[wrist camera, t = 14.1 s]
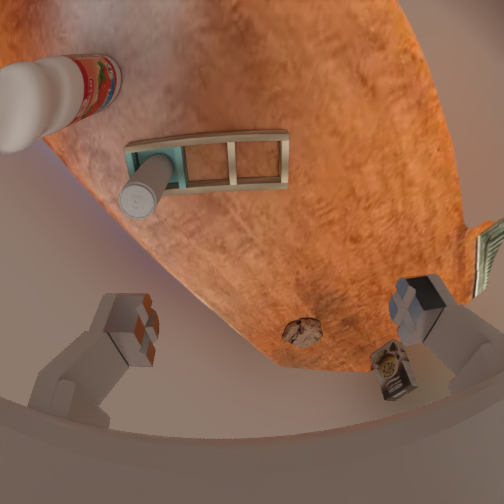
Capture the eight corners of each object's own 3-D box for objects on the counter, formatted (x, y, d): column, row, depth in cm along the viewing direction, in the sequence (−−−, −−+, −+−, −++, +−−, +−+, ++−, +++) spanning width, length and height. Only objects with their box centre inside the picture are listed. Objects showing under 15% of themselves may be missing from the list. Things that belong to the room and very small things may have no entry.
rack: (129, 142, 38) (123, 147, 36) (286, 130, 39) (289, 133, 37) (139, 192, 43) (134, 199, 41) (285, 182, 44) (287, 188, 42)
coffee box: (392, 338, 73) (410, 384, 60) (402, 343, 75) (419, 386, 62) (369, 355, 77) (383, 400, 64) (380, 358, 80) (394, 402, 67)
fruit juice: (92, 43, 28) (-60, 60, 5) (135, 73, 32) (-6, 108, 9) (61, 93, 31) (-80, 161, 9) (100, 123, 36) (-30, 216, 13)
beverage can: (178, 156, 40) (159, 190, 30) (170, 184, 43) (151, 224, 33) (148, 149, 39) (120, 179, 29) (142, 177, 41) (115, 215, 32)
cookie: (302, 346, 71) (303, 355, 69) (273, 332, 67) (274, 342, 64) (331, 326, 67) (334, 336, 65) (304, 310, 62) (307, 321, 60)
